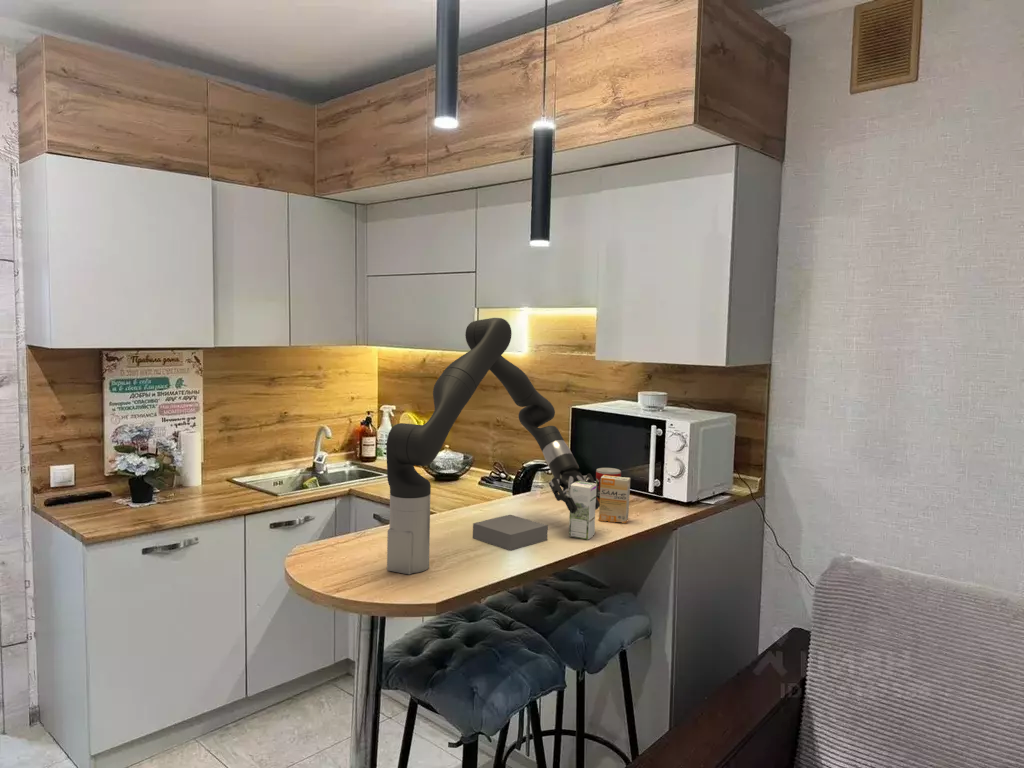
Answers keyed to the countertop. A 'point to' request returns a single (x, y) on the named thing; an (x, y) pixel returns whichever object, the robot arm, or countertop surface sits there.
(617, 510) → the supplement box
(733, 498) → the countertop surface
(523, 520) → the plate
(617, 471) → the canned food
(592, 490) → the syrup box
